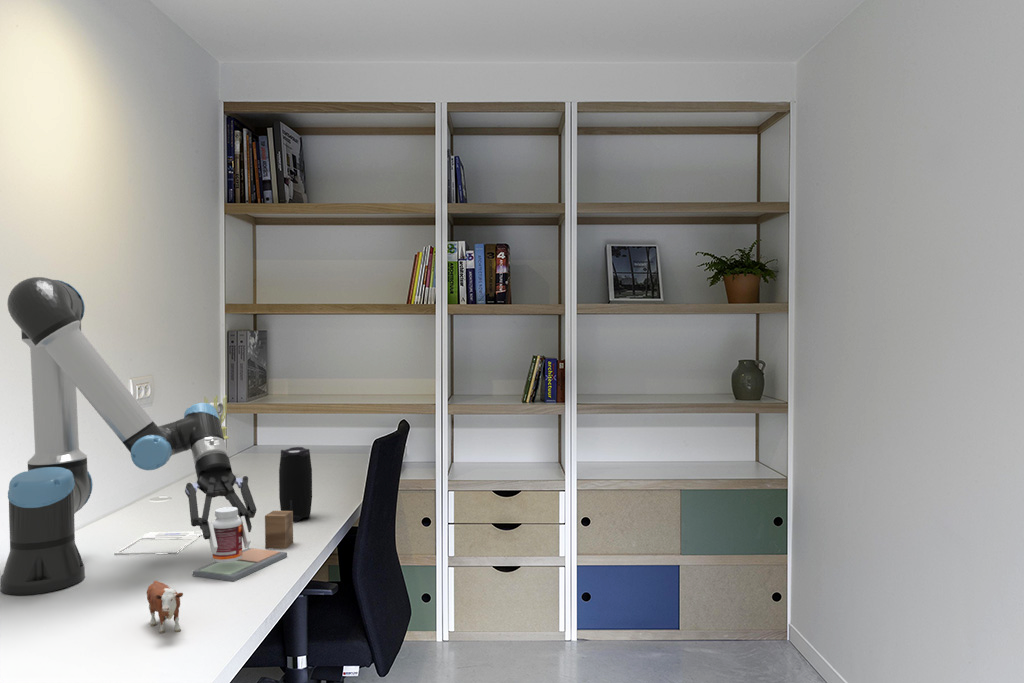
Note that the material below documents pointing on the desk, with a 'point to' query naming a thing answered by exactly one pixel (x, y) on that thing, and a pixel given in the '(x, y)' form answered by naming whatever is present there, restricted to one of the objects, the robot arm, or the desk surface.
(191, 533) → the photo frame
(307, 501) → the portable speaker
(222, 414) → the trophy
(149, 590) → the bull figurine
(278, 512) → the walnut block
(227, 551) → the pill bottle
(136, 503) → the desk surface
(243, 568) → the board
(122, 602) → the desk surface
